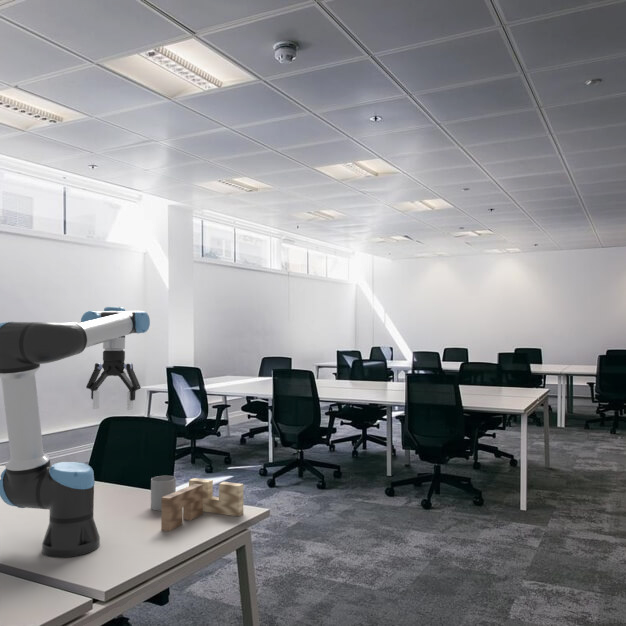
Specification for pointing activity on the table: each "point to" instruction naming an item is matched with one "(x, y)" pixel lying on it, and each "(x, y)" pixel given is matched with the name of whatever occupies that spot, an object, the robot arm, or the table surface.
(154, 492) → the cup
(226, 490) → the notched wooden slab
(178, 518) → the walnut plate
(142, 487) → the table surface
